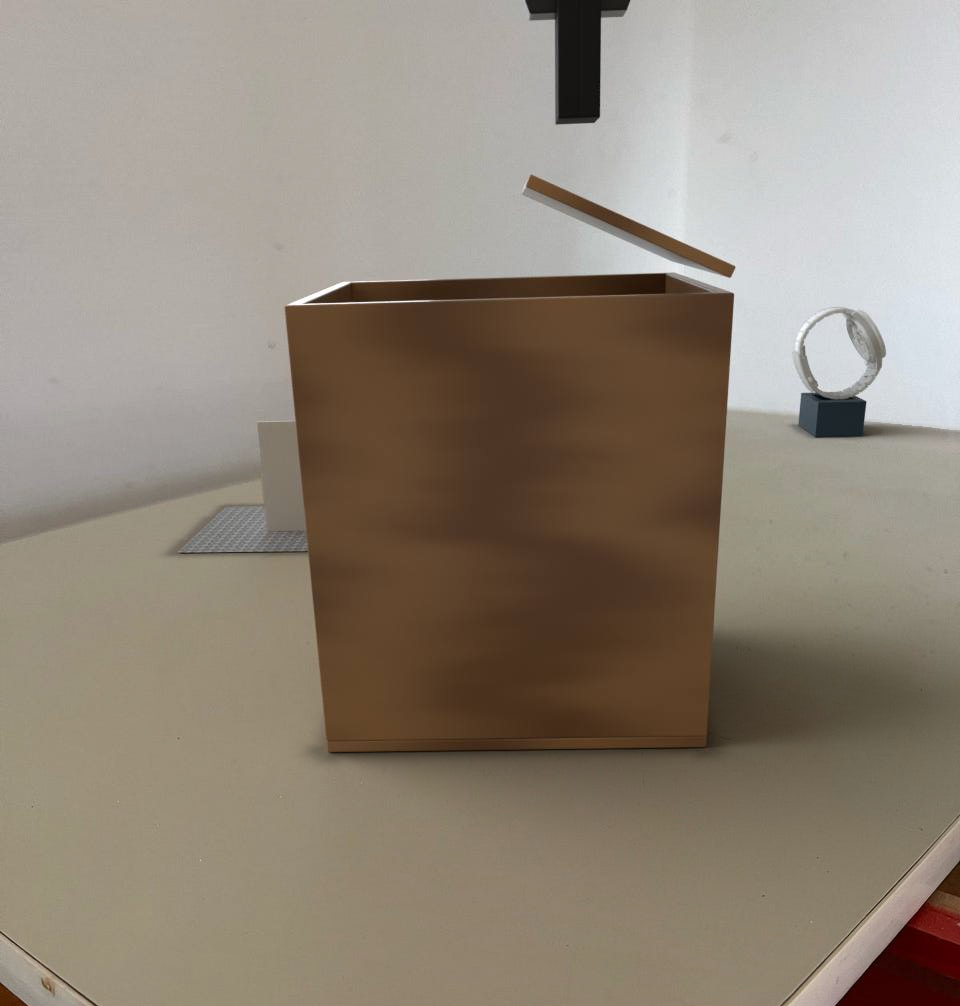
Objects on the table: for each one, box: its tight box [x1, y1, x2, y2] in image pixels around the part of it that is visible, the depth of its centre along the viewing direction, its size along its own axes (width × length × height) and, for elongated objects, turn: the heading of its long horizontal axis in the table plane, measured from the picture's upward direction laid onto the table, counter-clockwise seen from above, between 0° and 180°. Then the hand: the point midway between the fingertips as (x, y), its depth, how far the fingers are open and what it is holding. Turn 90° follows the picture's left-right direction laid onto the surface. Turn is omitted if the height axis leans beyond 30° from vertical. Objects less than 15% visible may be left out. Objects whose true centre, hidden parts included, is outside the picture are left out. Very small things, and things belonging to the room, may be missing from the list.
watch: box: [791, 306, 887, 438], centre depth 94 cm, size 6×8×11 cm
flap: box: [520, 174, 736, 279], centre depth 39 cm, size 7×13×1 cm, turn 178°
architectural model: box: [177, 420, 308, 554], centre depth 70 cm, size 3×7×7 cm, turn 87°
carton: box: [283, 272, 735, 753], centre depth 43 cm, size 15×13×17 cm
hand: (576, 120), depth 38 cm, fingers closed
